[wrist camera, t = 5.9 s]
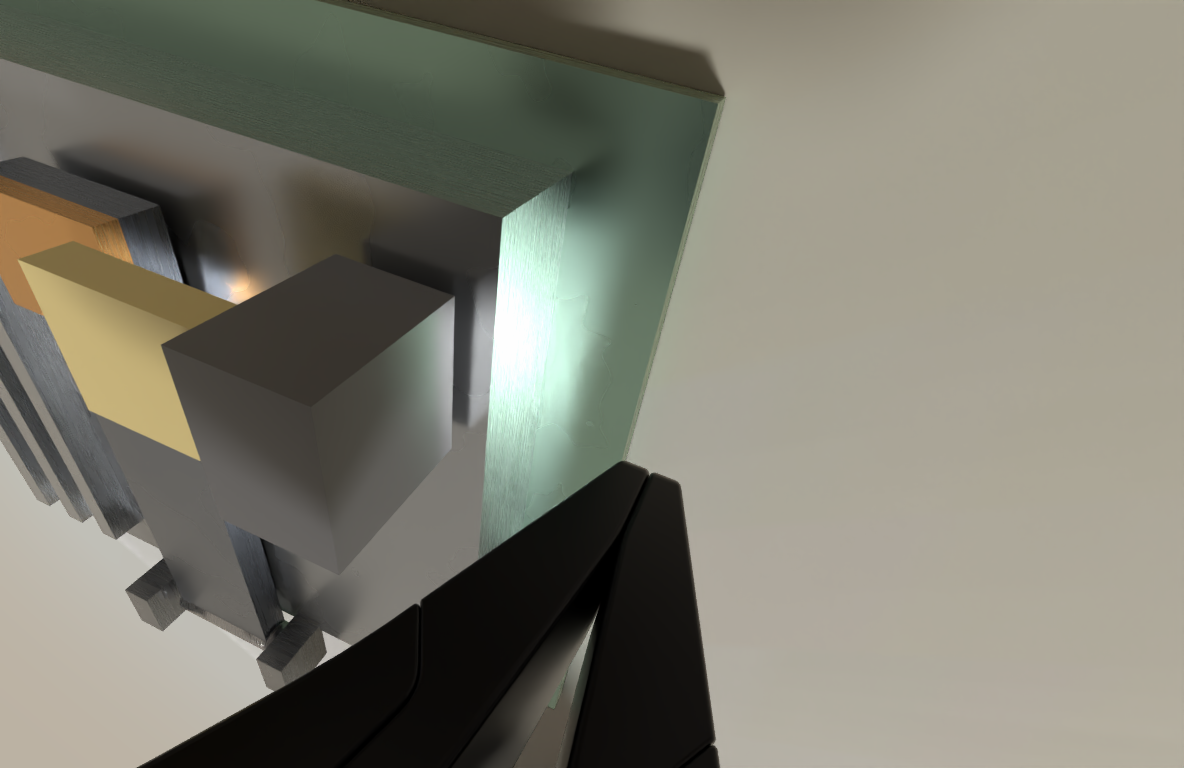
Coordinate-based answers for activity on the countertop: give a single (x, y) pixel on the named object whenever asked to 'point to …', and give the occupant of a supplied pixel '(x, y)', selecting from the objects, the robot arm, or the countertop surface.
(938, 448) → the countertop surface
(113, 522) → the heatsink
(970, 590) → the countertop surface
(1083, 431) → the countertop surface
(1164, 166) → the countertop surface
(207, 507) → the grey and orange bar
